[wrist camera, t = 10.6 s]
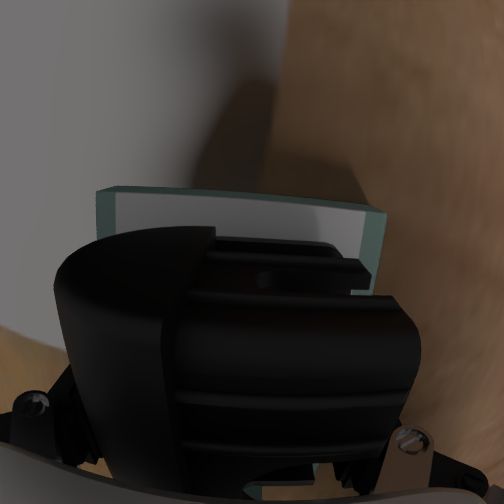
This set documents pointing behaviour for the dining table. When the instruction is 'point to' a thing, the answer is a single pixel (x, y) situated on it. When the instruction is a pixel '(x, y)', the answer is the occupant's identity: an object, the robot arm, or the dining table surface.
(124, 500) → the robot arm
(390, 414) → the end cap
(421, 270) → the dining table surface
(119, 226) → the press frame
